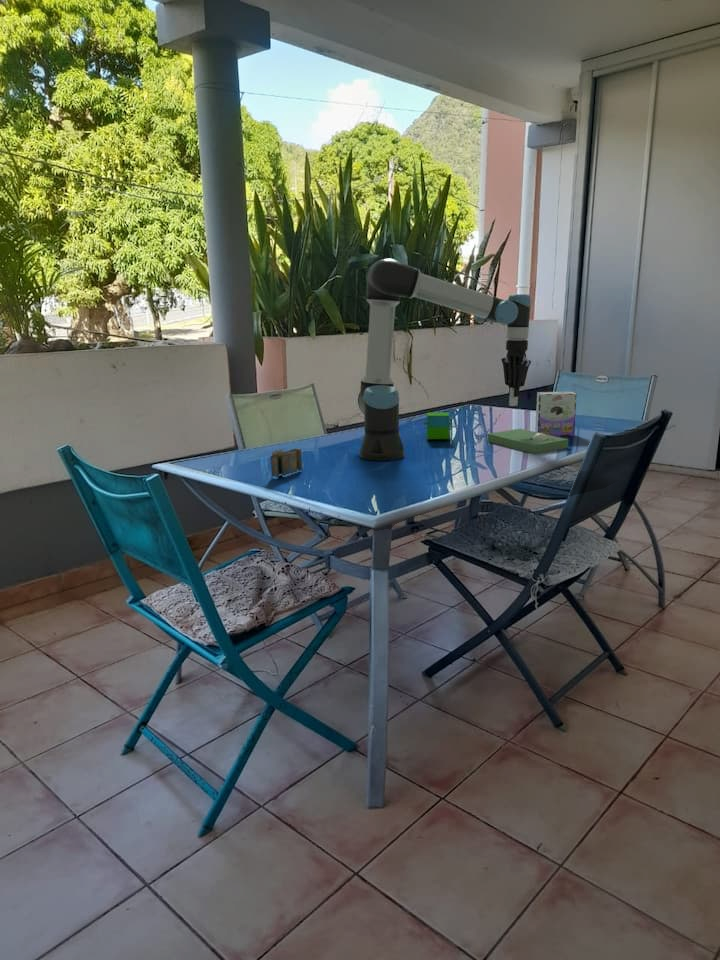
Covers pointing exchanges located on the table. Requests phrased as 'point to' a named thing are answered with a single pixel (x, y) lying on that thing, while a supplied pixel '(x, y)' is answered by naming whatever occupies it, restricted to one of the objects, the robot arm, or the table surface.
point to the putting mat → (526, 441)
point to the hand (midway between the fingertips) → (513, 405)
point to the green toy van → (437, 426)
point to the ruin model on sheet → (286, 462)
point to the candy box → (556, 413)
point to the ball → (539, 437)
